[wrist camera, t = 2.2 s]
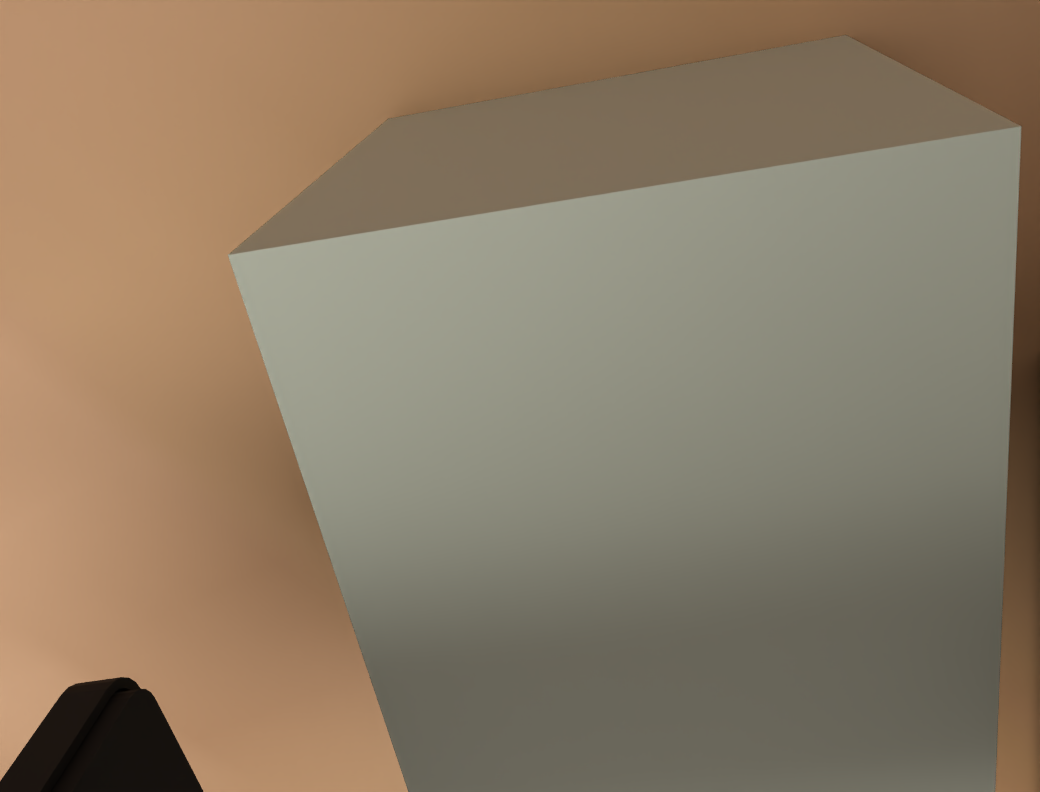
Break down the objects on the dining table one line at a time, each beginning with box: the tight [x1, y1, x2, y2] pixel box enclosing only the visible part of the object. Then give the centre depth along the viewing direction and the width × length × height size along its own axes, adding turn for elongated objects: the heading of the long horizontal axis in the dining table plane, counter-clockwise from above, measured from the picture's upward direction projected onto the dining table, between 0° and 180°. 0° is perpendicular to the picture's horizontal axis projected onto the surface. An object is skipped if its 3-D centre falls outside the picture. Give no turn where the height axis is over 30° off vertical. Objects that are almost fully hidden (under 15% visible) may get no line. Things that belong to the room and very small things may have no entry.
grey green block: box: [228, 35, 1021, 792], centre depth 12 cm, size 6×10×6 cm, turn 11°
